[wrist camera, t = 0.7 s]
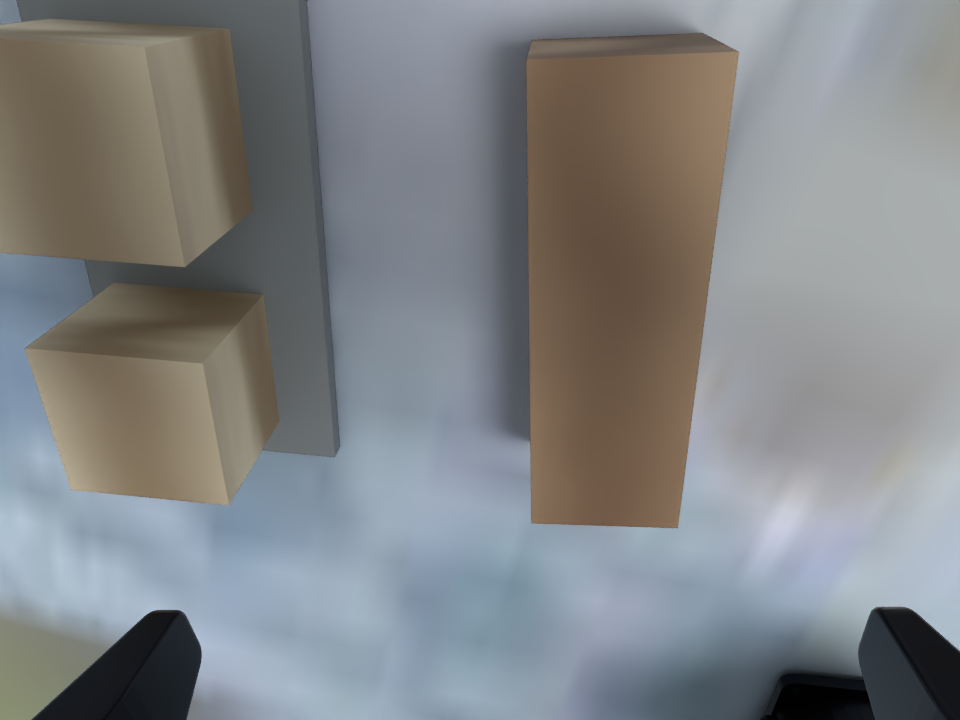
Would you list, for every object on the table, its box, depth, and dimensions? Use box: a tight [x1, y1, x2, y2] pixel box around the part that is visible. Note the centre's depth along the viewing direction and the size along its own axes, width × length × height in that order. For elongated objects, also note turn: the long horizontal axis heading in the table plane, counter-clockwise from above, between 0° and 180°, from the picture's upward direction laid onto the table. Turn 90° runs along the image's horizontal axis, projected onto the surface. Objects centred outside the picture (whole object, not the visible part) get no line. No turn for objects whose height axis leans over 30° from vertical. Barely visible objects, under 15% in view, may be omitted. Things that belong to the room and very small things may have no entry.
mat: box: [17, 0, 340, 457], centre depth 20 cm, size 7×14×1 cm, turn 178°
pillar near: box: [0, 19, 253, 267], centre depth 16 cm, size 4×4×4 cm
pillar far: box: [25, 283, 279, 505], centre depth 20 cm, size 4×4×4 cm
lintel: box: [526, 33, 739, 528], centre depth 18 cm, size 4×12×4 cm, turn 2°
